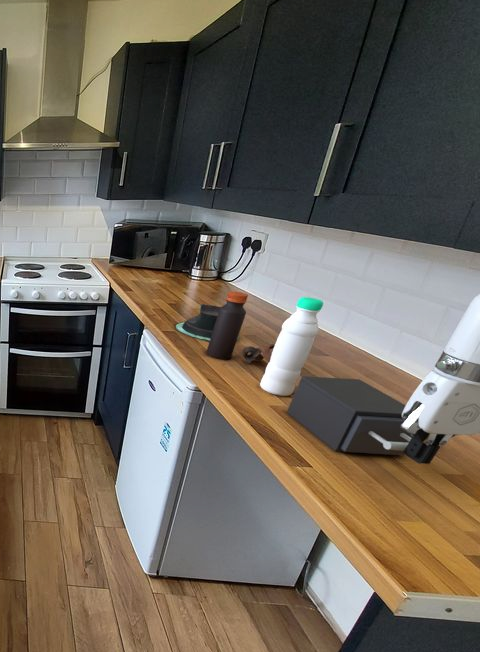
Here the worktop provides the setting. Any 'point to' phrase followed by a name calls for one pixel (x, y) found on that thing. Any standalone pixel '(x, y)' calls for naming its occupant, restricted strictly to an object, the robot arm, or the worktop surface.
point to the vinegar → (227, 326)
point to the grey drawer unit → (338, 406)
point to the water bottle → (292, 348)
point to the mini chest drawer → (377, 435)
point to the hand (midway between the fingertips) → (415, 458)
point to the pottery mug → (257, 353)
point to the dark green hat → (201, 323)
